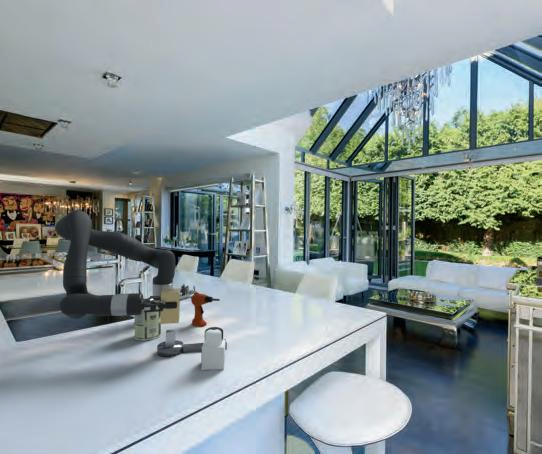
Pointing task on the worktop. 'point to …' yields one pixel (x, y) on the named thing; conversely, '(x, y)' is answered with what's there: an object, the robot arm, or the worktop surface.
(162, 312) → the brushed brass block
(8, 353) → the worktop surface
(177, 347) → the ratchet
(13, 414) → the worktop surface
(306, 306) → the worktop surface
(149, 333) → the coffee can
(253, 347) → the worktop surface
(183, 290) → the grey toy warship
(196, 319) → the toy drill
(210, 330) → the medicine bottle
